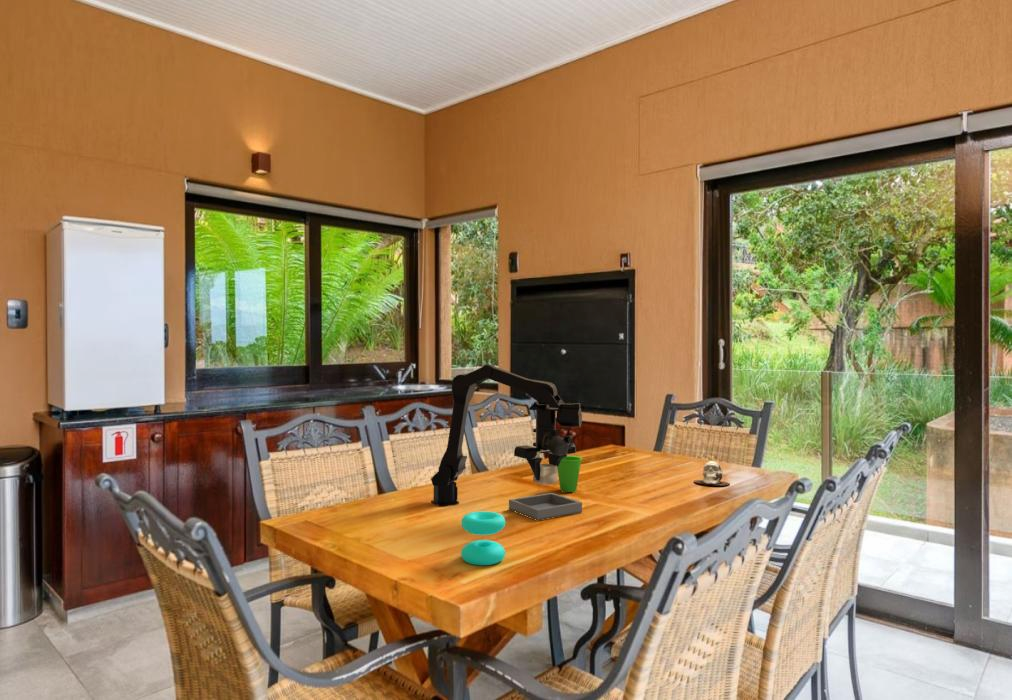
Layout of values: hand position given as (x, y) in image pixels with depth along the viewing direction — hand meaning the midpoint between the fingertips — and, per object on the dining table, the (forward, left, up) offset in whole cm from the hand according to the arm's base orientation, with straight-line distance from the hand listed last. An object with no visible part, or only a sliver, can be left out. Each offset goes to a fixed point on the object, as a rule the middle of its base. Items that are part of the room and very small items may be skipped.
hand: (545, 479), depth 187 cm
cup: (+22, +16, -10) cm, 29 cm away
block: (0, 0, -1) cm, 1 cm away
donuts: (-37, -25, -10) cm, 46 cm away
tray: (0, 0, -9) cm, 9 cm away
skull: (+72, -2, -10) cm, 73 cm away
